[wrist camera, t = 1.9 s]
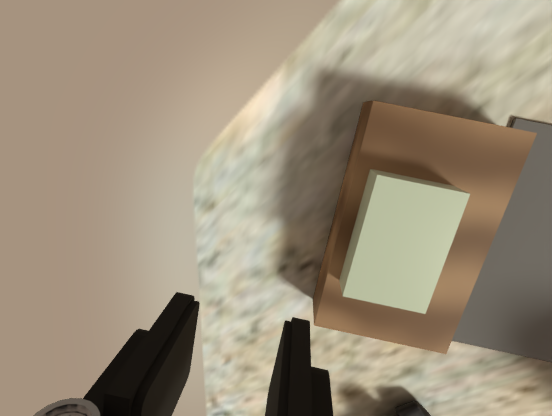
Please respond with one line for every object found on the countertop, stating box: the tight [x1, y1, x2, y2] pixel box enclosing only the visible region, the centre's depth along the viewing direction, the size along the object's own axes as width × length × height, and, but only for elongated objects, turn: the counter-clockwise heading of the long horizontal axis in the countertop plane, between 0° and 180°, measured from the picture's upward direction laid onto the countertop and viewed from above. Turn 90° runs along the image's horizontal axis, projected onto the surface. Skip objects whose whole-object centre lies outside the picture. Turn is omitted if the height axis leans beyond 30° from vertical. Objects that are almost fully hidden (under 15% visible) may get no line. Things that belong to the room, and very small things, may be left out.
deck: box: [313, 101, 537, 354], centre depth 27 cm, size 18×11×4 cm, turn 169°
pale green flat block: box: [339, 169, 470, 314], centre depth 24 cm, size 9×6×2 cm, turn 169°
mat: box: [452, 118, 552, 362], centre depth 28 cm, size 20×12×1 cm, turn 169°
